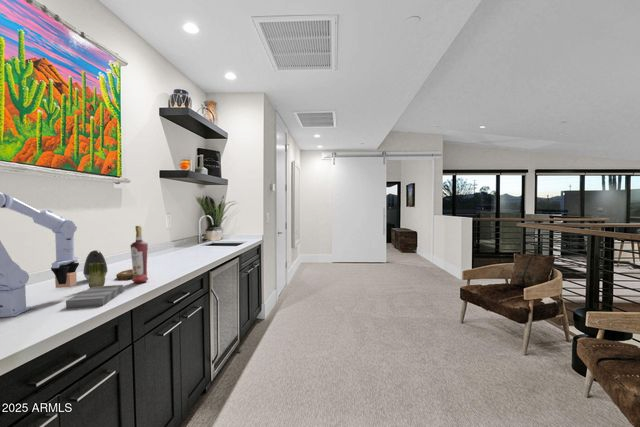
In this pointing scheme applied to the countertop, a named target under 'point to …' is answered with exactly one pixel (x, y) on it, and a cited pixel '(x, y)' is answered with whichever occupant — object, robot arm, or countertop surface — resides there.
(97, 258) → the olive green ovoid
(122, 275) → the decorative rock
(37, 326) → the countertop surface
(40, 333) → the countertop surface
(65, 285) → the terracotta block
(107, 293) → the charcoal board
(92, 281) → the fennel bulb
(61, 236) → the robot arm
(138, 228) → the liquor
